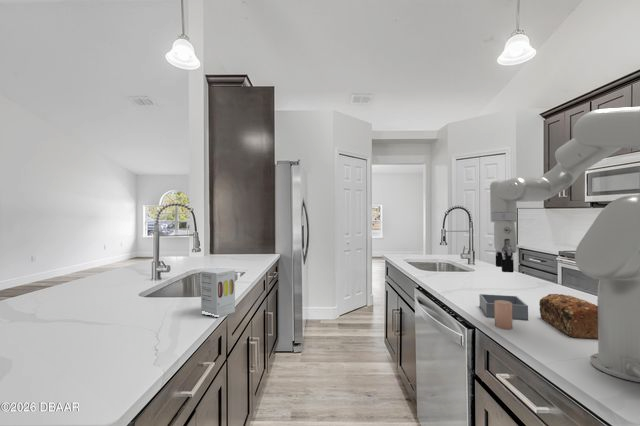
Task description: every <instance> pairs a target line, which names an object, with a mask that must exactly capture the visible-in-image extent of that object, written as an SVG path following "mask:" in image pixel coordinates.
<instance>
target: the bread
mask: <svg viewBox="0 0 640 426" xmlns="http://www.w3.org/2000/svg"><path fill="white" fill-rule="evenodd" d="M538 303H539V314H540V318H541V319H542V320H543V321H545V322H546V323H547V324H549V325H551V326H552V327H554V328H555V329H557V330H559V331H560V332H561V333H563V334H565V335H567V336H569V337H573V338H576V339H592V340H593V339H594V340H598V305H596V304H594V303H592V302H590V301H587V300H584V299H582V298H578V297H575V296H573V295H569V294H568V295H567V294H562V293H561V294H557V293H548V294H547V295H545V296H542V298H541V299H539V302H538Z"/></svg>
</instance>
